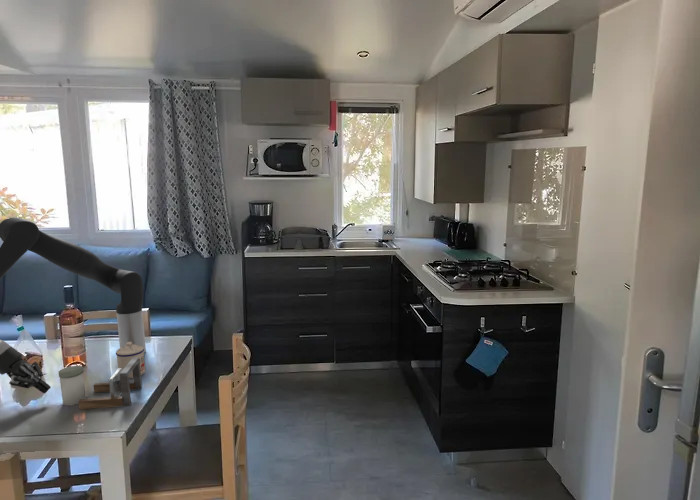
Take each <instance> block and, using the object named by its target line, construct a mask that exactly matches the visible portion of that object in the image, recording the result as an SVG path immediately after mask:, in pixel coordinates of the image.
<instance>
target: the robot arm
mask: <svg viewBox="0 0 700 500" xmlns="http://www.w3.org/2000/svg"><path fill="white" fill-rule="evenodd" d="M0 240H1V241H2V244H1V245H0V280H1V279H2V278H3V277H4V276H5V275H6V273H7V272H9V270H10V269H11V268H12V267H13V266H14V265H15V264H16V263H17V261H19V260H20V258H22V256H24V254H25V253H27V252H28V251H29V252H32V253H34V254H36V255H38V256H40V257H42V258H44V259H45V260H47V261H49V263H53V265H56V266H58V267H60V268H61V269H64V270H66V271H68V272H71V273H72V274H75V275H78V276H80V277H82V278H86V279H89V280H92V281H95V282H98V283H99V284H101V285H103V286H105V287H107V288H108V289H109V290H112V291H113V292H115V293H117V294H120V303H118V304H116V306H115V312H116V320H117V321H116V322H117V331H118V341H119V349H120V348H122V347H124V346H125V345H126V343H127V342H132V344H135V345H140V346H142V347H143V348H144V351H143V352H144V354H145V353H146V351H147V349H146V347H147V346H146V339H145V338H146V337H145V326H144V315H143V305H144V304H143V303H144V284H143V279H142V276H141V275H140V273H138V272H137V271H132V270H125V269H121V268H118V267H115V266H113V265H109V264H107V263H106V262H104V261H103V260H101V258H99V256H97V255H96V254H94V253H93V252H91V251H89V250H88V249H86V248H84V247H82V246H79V245H77V244H75V243H73V242H70V241H67V240H64V239H62V238H59V237H55V236H54V235H53V236H52V235H49V234H48V233H45V232H43V231H42V230H41V229H39V226H38V225H37V224H36V223H35V222H33V221H31V220H28V219H24V218H21V217H8V218H5V219H3V220H2V221H0ZM23 357H24V356H23V354H22V353H21V352H19V351H18V350H17V349H16V348H14V347H13V346H11V345H10V344H9V343H7V342H6V341H5V340H3V339H0V375H2V376H3V375H5V374H6V375H7V376H8V377H9V378H10V381H9V383H8V384H9V385H10V386H14V387H15V386H16V387H18V388H24V389H30V388H35V389H36V390H38V391H39V392H40V393H42V394H46V393H47V392H49V390H50V389H51V386H50V385H49V384H48V383H47V382H45V381H44V380H43V375H44V374H43V372H42V370H41V368H40V366H39V363H38V362H36V361H33V363H30V362H29V361H26V360H24V359H23Z"/></svg>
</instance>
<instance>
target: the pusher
mask: <svg viewBox="0 0 700 500" xmlns="http://www.w3.org/2000/svg"><path fill="white" fill-rule="evenodd" d="M121 371H122V368H118V367H117V369H116V371H115V372H113V374H112V375H111V376H110V378H109V379H108V382H109V384H110V391H109V393H110V397H120V396H121V395H122V393H121V383H120V372H121ZM130 383H134V379H133V378H131V379H129V384H130Z"/></svg>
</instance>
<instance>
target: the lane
mask: <svg viewBox="0 0 700 500" xmlns="http://www.w3.org/2000/svg"><path fill="white" fill-rule="evenodd" d="M132 371H133V378H132V379H134V383H130V384H129V380H130V379H129V374H130V373H131V372H132ZM120 383H121V395H120V396H119V397H111V396H109V397H108V396H107V397H96V398H86V399H81V400H80V401H79V404H78V407H79V410H88V409H89V410H90V409H102V408H114V407H115V408H117V406H118V407H129V406H131V404H132V400H131V399H132V397H131V391H133V390H134V391H136V390H141V389H142V388H143V384H142V375H141V372H140V361H139V357H134V358H132V359H131V360H130V361H129V363H128V364H127V365H126V366H125V368H124V369H123V370H122V371H121V372H120ZM92 387H93V393H104V392H105V393H107V392H109V393H110V384H109V381H107V382H97V383H95V382H94V384H93V386H92Z"/></svg>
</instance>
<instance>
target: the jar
mask: <svg viewBox="0 0 700 500" xmlns="http://www.w3.org/2000/svg"><path fill="white" fill-rule="evenodd" d="M58 377H59V383H60V391H61V398H62V399H61V400H62V404H63V405H64V406H66V407H67V406H69V405H70V406H76V405H79V401H80V400H81V399H87V396H86V395H87V394H86V386H85V377H84V367H83V366H82V365H71V366H66V367H64V368H61V369H60V370H59V371H58ZM75 404H76V405H75Z"/></svg>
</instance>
